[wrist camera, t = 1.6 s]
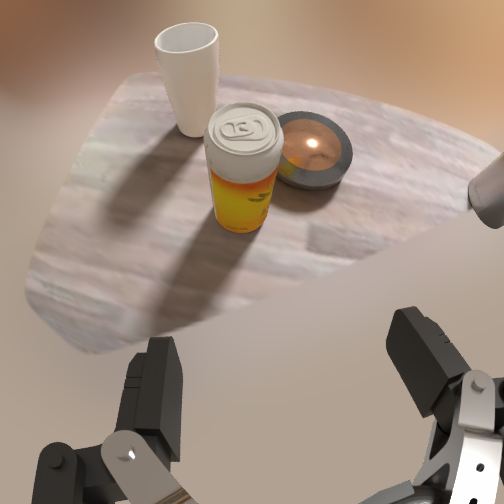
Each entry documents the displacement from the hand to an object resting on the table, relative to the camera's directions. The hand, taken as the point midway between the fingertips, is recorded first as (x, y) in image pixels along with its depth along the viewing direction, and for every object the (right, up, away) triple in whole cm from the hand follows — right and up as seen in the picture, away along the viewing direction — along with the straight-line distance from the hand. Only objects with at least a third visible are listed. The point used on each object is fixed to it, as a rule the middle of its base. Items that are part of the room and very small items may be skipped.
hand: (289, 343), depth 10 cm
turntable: (+6, +15, +28) cm, 32 cm away
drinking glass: (-9, +20, +29) cm, 36 cm away
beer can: (-3, +8, +25) cm, 27 cm away
